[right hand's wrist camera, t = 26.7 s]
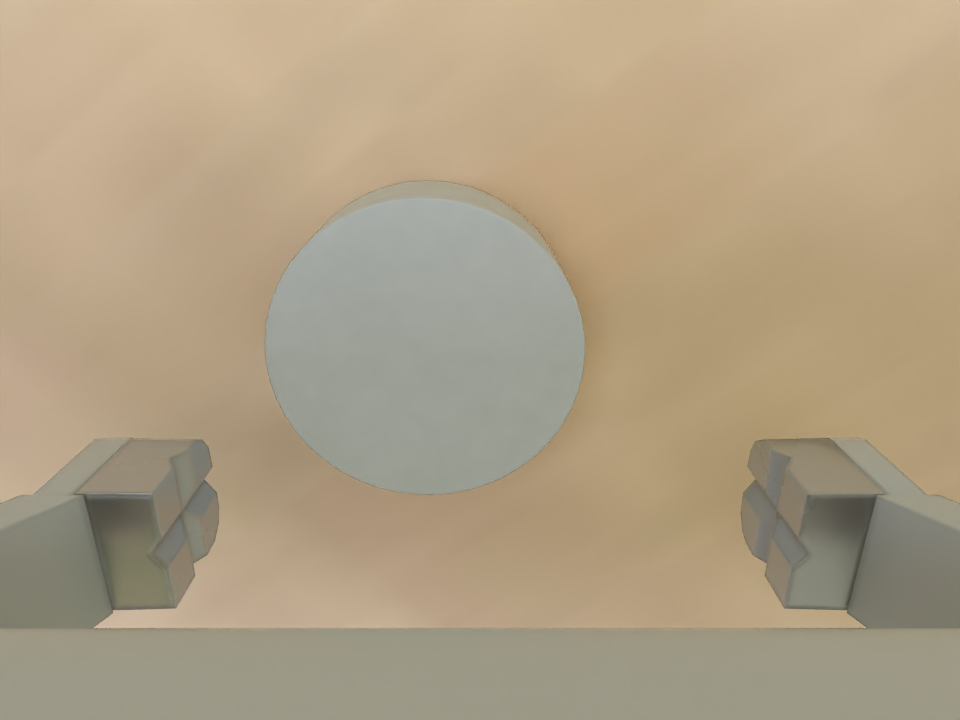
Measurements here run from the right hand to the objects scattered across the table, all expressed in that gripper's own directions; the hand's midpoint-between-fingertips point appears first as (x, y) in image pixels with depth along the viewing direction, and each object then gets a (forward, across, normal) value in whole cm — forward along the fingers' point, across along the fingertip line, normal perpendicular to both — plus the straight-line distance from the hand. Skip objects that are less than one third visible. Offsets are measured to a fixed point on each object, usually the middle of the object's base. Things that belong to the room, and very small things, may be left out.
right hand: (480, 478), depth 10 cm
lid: (+3, +1, -1) cm, 3 cm away
